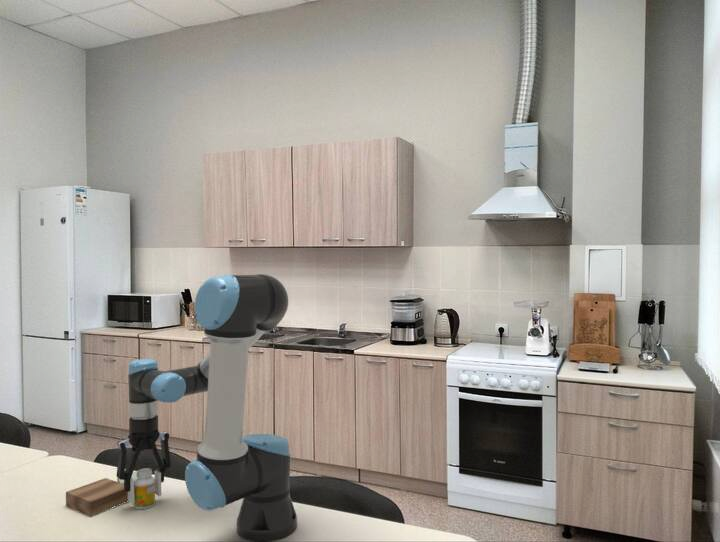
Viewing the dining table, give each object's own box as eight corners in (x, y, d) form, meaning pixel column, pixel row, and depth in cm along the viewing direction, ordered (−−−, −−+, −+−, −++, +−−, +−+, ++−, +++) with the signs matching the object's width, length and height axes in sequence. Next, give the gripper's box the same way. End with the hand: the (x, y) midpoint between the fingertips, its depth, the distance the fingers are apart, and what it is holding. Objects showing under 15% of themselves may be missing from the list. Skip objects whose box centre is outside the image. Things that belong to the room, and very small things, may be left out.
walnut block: (131, 500, 160) (130, 486, 160) (91, 516, 150) (90, 501, 150) (105, 491, 167) (105, 477, 167) (66, 506, 157) (65, 492, 156)
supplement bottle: (129, 507, 156) (129, 472, 156) (145, 500, 161) (145, 466, 160) (143, 511, 153) (143, 475, 153) (159, 503, 158) (158, 469, 158)
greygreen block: (149, 491, 167) (149, 478, 167) (120, 497, 163) (120, 483, 163) (145, 482, 174) (145, 469, 174) (117, 487, 170) (117, 474, 170)
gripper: (172, 407, 166) (173, 484, 166) (101, 419, 153) (102, 504, 153) (183, 412, 160) (184, 492, 161) (111, 425, 147) (112, 513, 147)
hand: (144, 498), depth 157 cm, fingers open, 7 cm apart
